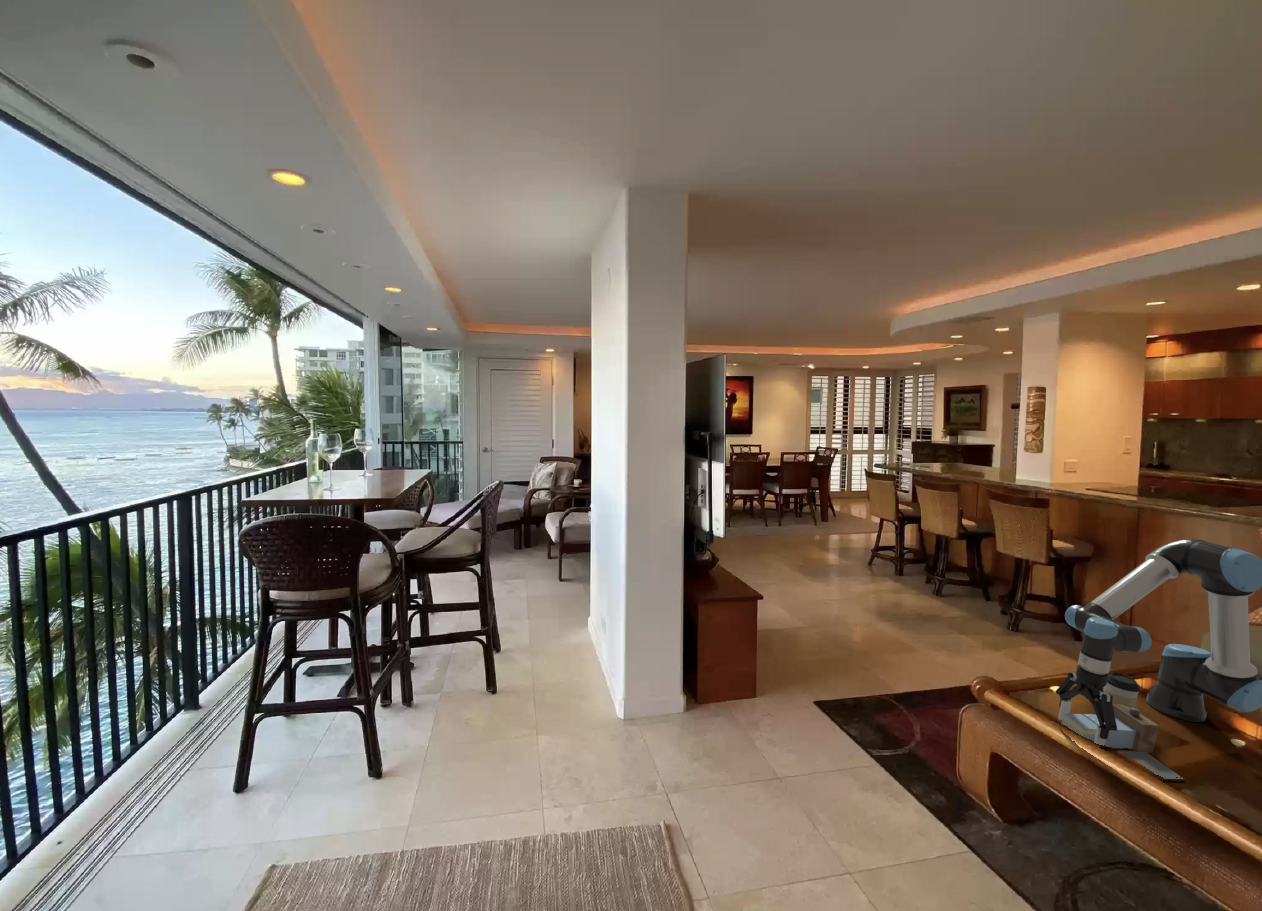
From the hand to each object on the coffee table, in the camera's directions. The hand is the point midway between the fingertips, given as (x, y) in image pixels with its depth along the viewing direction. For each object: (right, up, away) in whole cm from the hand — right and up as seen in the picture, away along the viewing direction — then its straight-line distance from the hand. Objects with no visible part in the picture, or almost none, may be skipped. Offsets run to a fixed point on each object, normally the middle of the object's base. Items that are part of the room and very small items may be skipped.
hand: (1080, 732), depth 176 cm
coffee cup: (+22, -2, +13) cm, 26 cm away
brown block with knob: (+16, -3, +1) cm, 16 cm away
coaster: (+10, -4, -11) cm, 16 cm away
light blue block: (0, -2, 0) cm, 2 cm away
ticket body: (+10, -3, +1) cm, 11 cm away
